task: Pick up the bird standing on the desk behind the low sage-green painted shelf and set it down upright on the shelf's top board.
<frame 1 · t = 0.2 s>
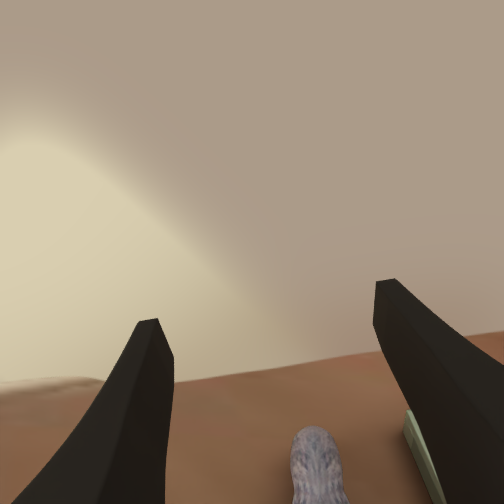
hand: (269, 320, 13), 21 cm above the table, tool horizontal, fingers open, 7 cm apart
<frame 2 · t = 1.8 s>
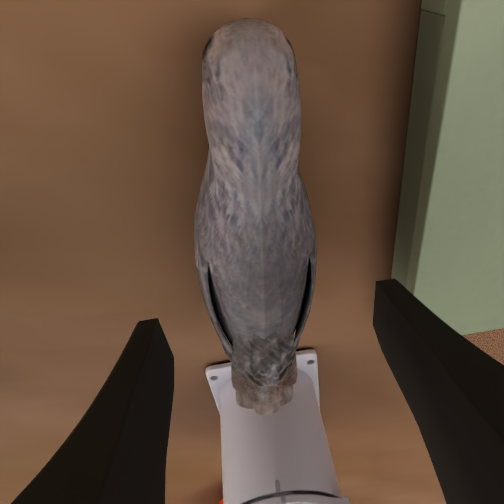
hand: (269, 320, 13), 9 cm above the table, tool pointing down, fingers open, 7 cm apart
bird: (246, 191, 20), on the table
shelf: (495, 168, 20), on the table
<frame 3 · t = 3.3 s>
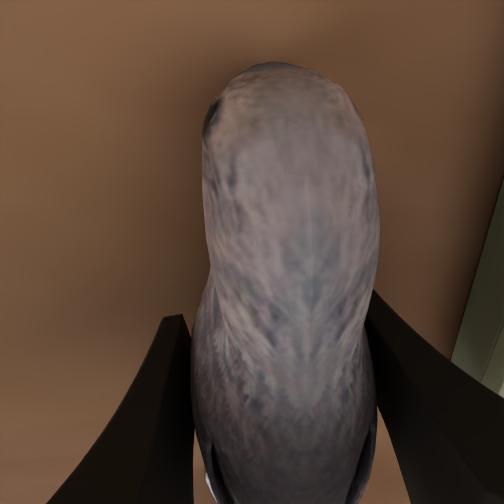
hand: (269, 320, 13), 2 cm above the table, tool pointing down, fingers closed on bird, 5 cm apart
bird: (264, 283, 14), on the table, touching gripper
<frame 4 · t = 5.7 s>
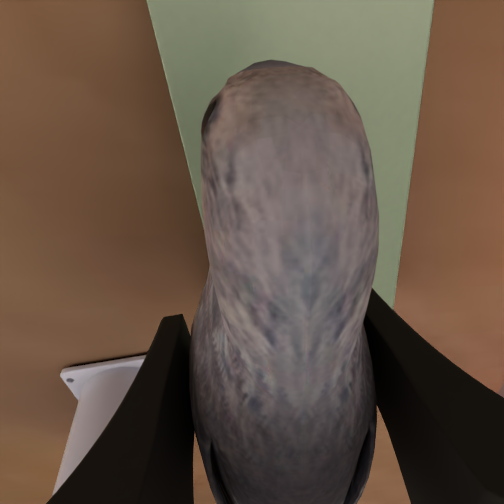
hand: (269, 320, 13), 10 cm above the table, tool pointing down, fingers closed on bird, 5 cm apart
bird: (263, 282, 14), point 8 cm above the table, touching gripper
shelf: (294, 178, 21), on the table
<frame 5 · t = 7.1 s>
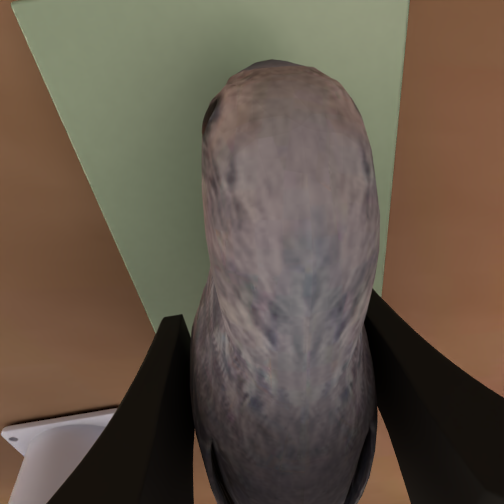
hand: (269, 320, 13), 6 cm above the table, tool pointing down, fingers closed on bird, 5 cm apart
bird: (264, 282, 14), point 4 cm above the table, touching gripper
shelf: (252, 223, 18), on the table
when the fingers open (5 cm above the table, at t = 8.1 s): bird stays where it is, resting on shelf.
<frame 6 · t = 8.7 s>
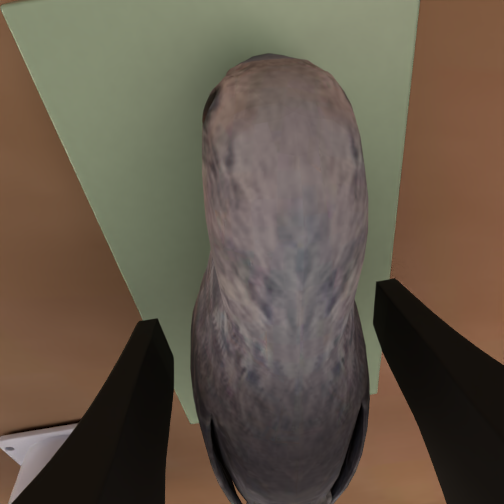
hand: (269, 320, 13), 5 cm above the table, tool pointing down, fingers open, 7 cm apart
bird: (262, 271, 15), point 3 cm above the table, touching shelf
shelf: (254, 231, 17), on the table
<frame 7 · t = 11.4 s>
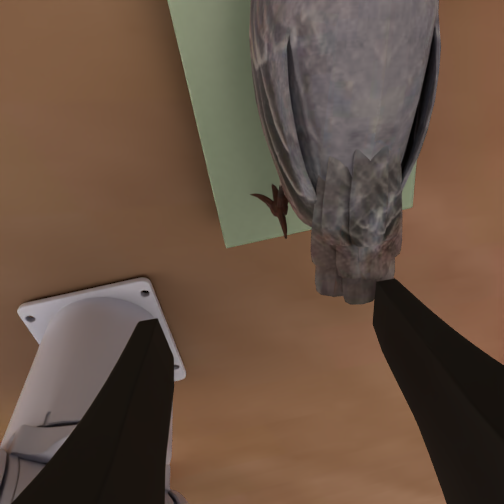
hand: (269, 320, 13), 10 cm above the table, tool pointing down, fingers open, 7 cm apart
bird: (306, 16, 15), point 3 cm above the table, touching shelf
shelf: (288, 14, 17), on the table
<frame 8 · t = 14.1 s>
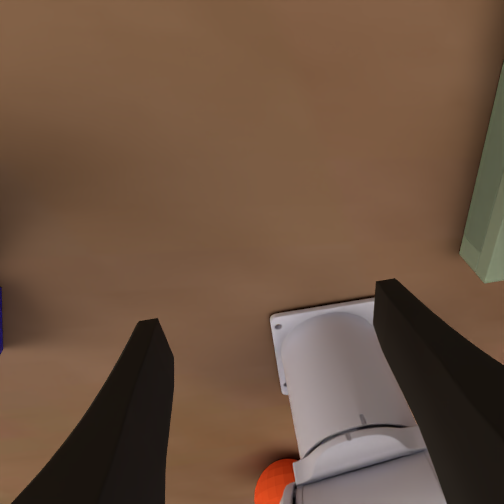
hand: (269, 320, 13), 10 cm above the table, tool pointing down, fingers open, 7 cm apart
red tomato: (283, 462, 42), on the table
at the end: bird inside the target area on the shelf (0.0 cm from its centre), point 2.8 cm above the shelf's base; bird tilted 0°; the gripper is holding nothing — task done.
